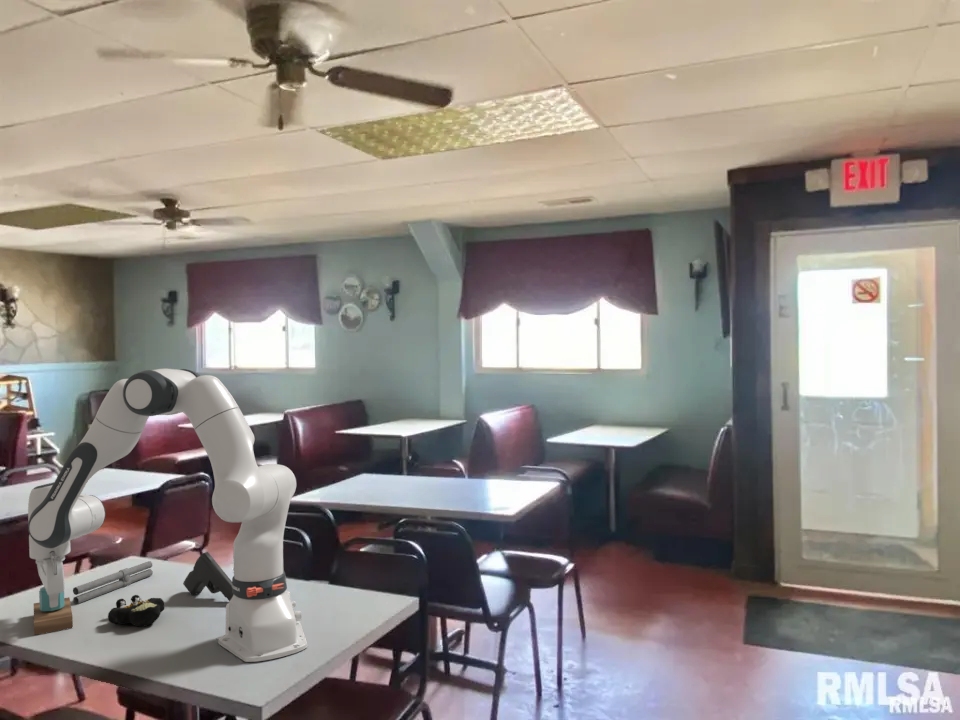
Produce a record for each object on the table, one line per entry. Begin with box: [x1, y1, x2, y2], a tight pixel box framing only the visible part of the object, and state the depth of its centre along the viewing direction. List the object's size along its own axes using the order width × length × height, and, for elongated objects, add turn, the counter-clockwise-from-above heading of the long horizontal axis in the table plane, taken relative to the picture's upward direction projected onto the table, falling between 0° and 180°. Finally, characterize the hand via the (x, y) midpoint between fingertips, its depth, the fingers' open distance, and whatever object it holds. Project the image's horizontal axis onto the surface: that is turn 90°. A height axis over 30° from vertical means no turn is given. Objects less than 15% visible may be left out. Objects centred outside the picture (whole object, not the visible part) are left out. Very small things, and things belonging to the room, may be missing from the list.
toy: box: [107, 594, 165, 628], centre depth 182 cm, size 12×8×15 cm
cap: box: [38, 586, 65, 611], centre depth 183 cm, size 5×5×5 cm
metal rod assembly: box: [72, 560, 154, 605], centre depth 207 cm, size 26×3×5 cm, turn 159°
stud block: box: [33, 597, 74, 636], centre depth 183 cm, size 16×8×8 cm, turn 32°
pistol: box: [182, 551, 233, 602], centre depth 198 cm, size 18×4×13 cm
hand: (52, 602), depth 183 cm, fingers closed on cap, 5 cm apart
